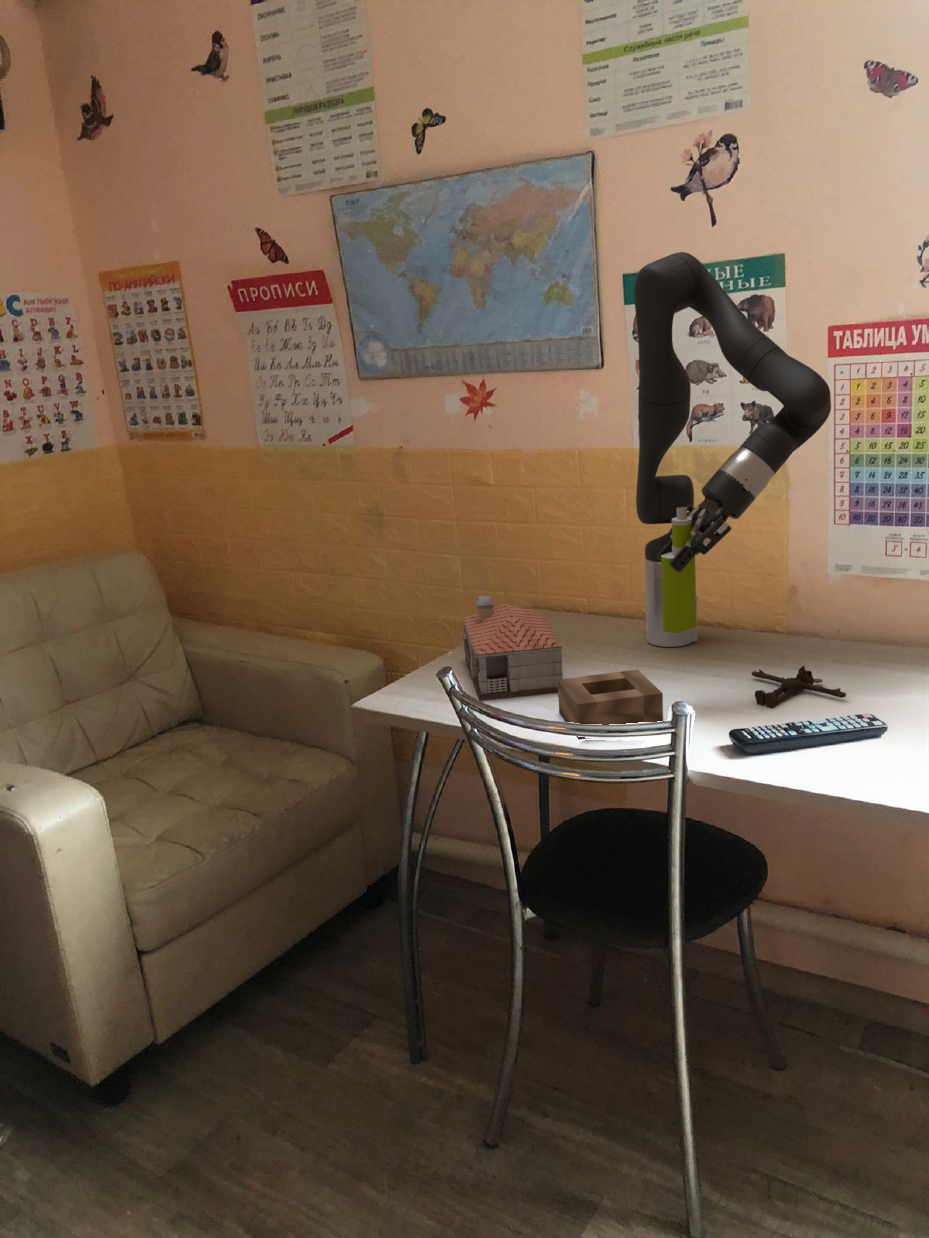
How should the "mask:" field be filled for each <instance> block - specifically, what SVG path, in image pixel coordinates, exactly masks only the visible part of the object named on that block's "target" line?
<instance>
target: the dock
mask: <svg viewBox="0 0 929 1238" xmlns="http://www.w3.org/2000/svg"><path fill="white" fill-rule="evenodd" d="M557 695H558V713H559V715H560V717H561V718H562V719H563V720H564V722H565V723H566V722H574V723H580V724H602V725H609V724H626V723H638V722H657V721H663V722H664V700H663V696H664V695H663V692H662V691H661V690H660V689H659V687H657V686H656V685H655V684H654V683H653V682H651V680H649V679H648V678H647V677H646V675H644V673H642V672H641V670H639V669H632V670H631V669H630V670H621V671H615V672H608V673H607V672H606V673H599V674H592V675H584V676H574V677H569V678H563V679H559V680H558V693H557ZM575 736H576V735H575ZM576 738H577V739H578V741H580V740H588V739H589V738H585V737H578V736H576Z"/></svg>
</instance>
